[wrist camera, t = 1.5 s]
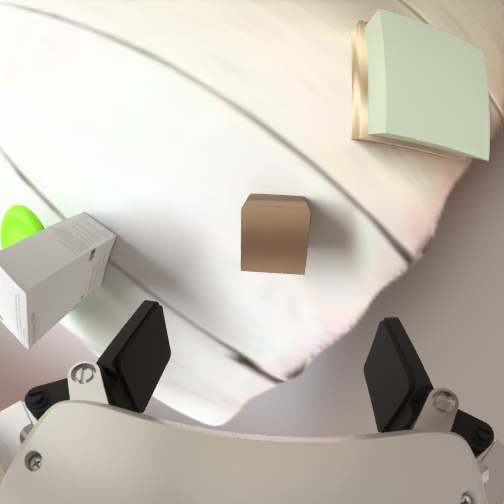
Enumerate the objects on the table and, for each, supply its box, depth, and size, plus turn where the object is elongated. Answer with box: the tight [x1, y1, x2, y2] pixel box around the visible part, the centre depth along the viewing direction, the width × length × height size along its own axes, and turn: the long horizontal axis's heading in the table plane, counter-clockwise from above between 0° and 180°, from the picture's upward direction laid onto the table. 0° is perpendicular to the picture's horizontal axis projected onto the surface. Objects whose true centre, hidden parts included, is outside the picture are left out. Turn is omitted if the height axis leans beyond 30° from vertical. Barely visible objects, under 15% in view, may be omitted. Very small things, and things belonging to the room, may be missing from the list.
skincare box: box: [0, 212, 116, 349], centre depth 22 cm, size 8×6×15 cm
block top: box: [365, 8, 490, 161], centre depth 14 cm, size 10×10×4 cm
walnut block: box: [241, 194, 311, 275], centre depth 23 cm, size 5×5×6 cm
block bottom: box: [350, 21, 467, 161], centre depth 18 cm, size 11×11×4 cm
